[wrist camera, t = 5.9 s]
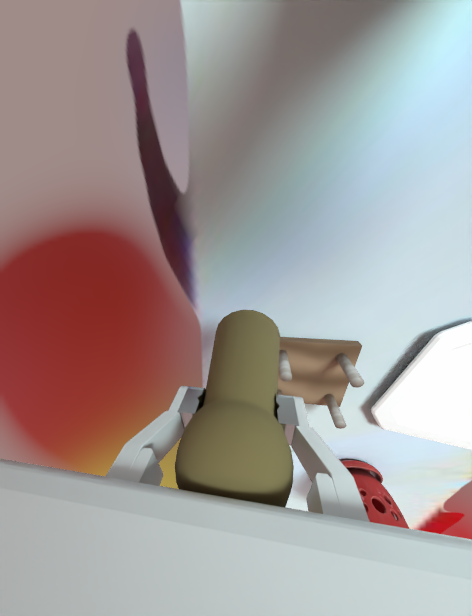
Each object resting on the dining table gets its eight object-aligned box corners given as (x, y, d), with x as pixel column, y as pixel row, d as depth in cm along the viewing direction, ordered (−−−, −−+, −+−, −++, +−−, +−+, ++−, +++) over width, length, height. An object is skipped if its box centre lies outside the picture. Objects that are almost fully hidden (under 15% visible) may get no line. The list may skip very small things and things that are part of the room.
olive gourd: (223, 364, 18) (178, 531, 8) (209, 313, 16) (122, 464, 6) (282, 361, 17) (312, 551, 7) (277, 306, 14) (315, 479, 5)
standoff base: (267, 336, 29) (269, 362, 23) (358, 341, 27) (383, 370, 22) (263, 394, 35) (264, 426, 29) (337, 400, 33) (352, 436, 28)
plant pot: (341, 448, 39) (372, 531, 29) (392, 466, 40) (441, 555, 29) (310, 471, 45) (326, 547, 34) (354, 487, 46) (384, 567, 35)
